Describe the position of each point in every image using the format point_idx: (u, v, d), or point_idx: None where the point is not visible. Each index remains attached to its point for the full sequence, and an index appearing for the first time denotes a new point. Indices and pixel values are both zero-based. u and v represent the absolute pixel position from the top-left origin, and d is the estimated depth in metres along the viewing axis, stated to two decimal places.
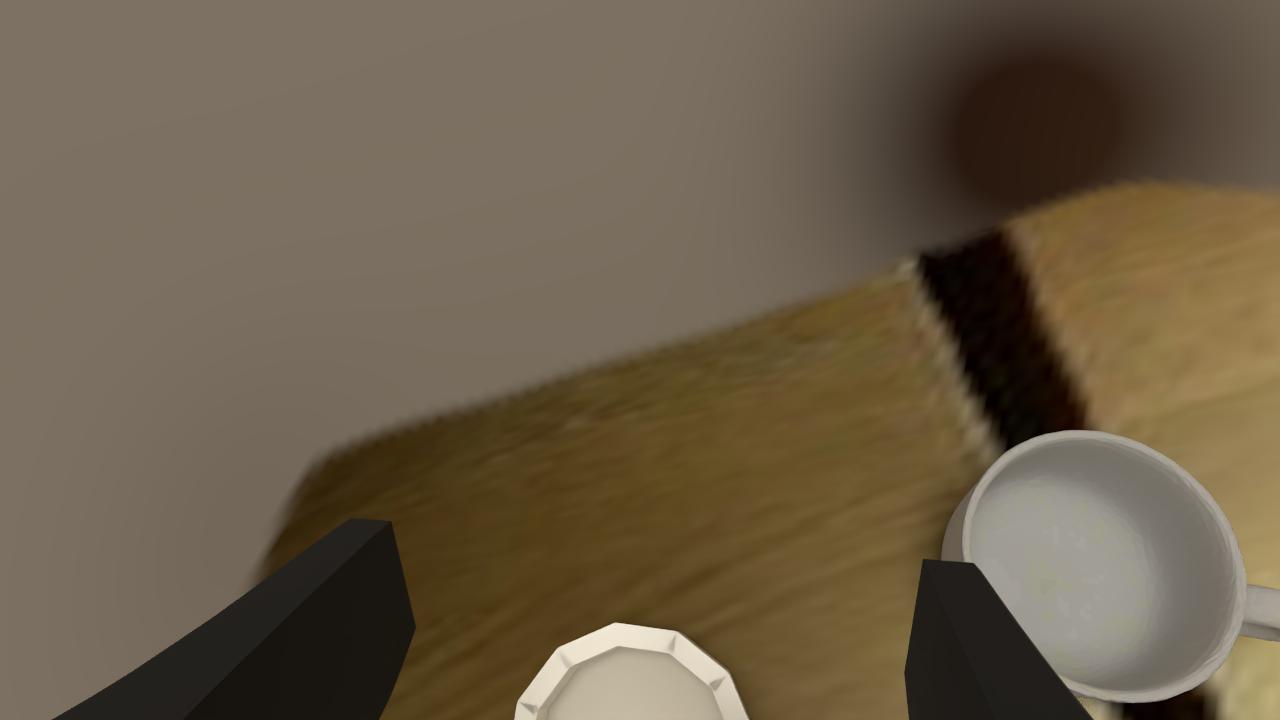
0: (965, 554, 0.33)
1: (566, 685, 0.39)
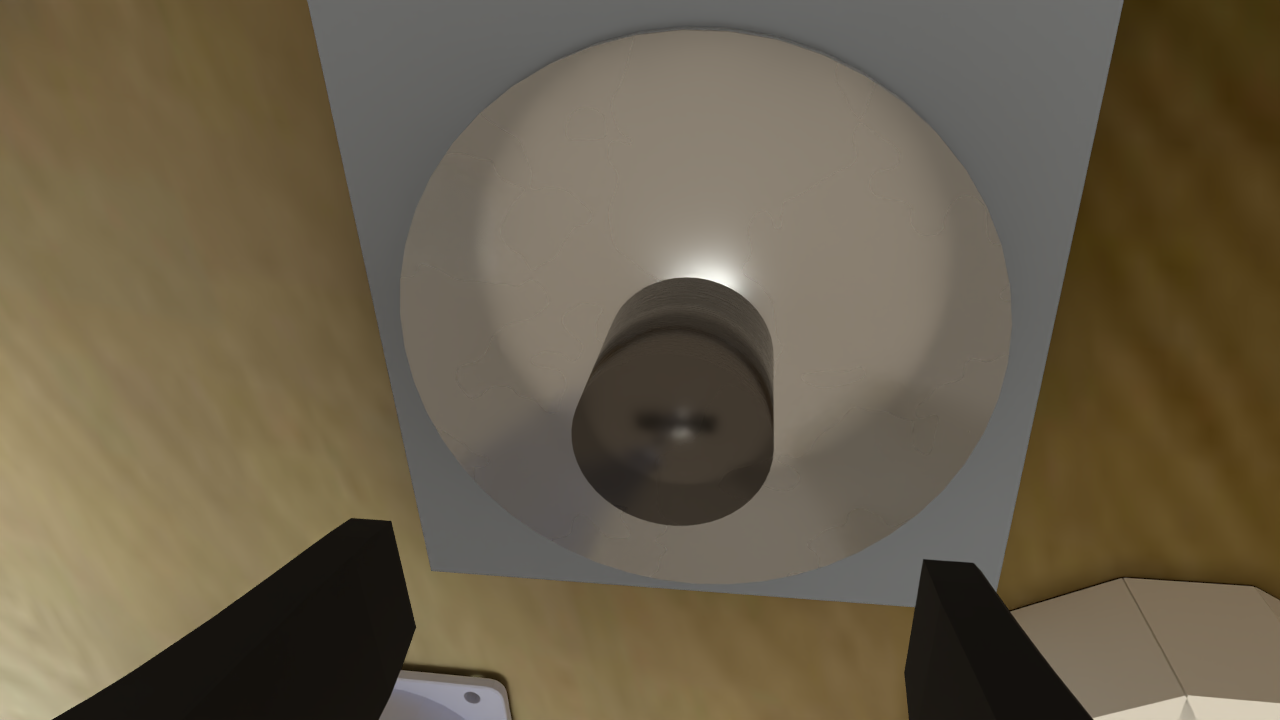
0: None
1: None
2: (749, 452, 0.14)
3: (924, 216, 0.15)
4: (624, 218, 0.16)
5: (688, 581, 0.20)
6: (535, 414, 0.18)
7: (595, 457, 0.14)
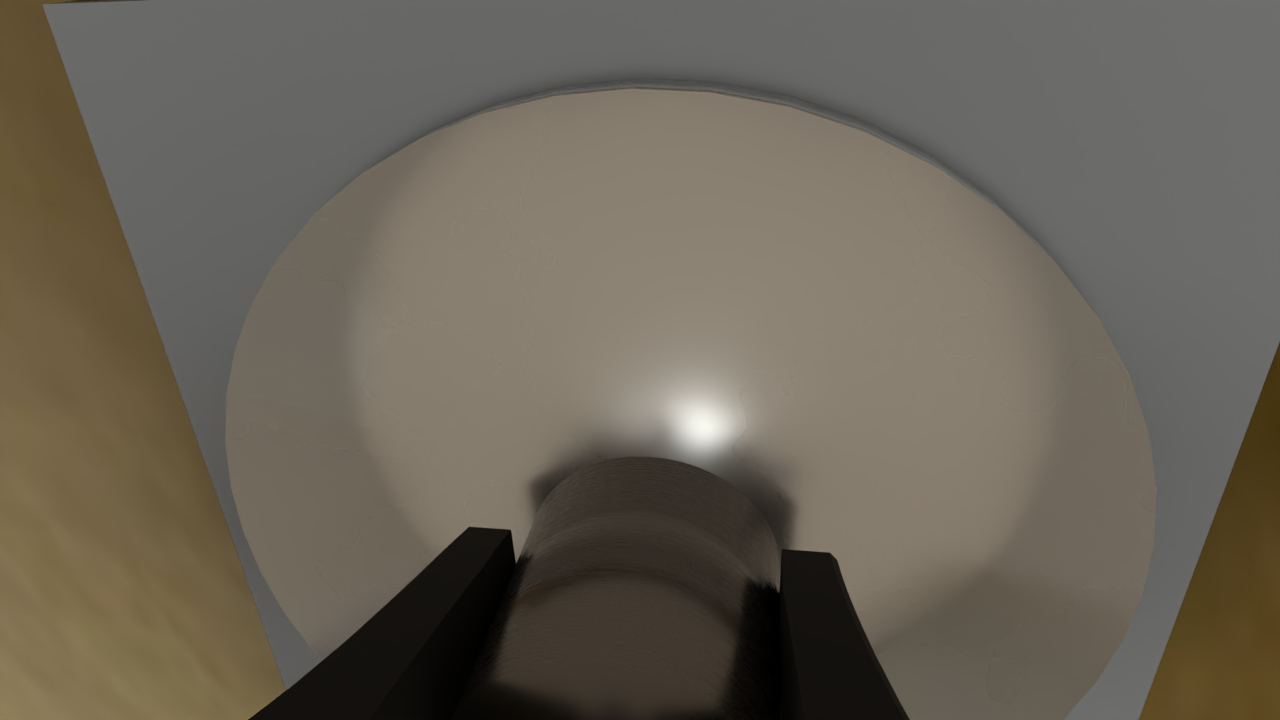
0: None
1: None
2: None
3: (1024, 385, 0.09)
4: (548, 371, 0.10)
5: None
6: None
7: None
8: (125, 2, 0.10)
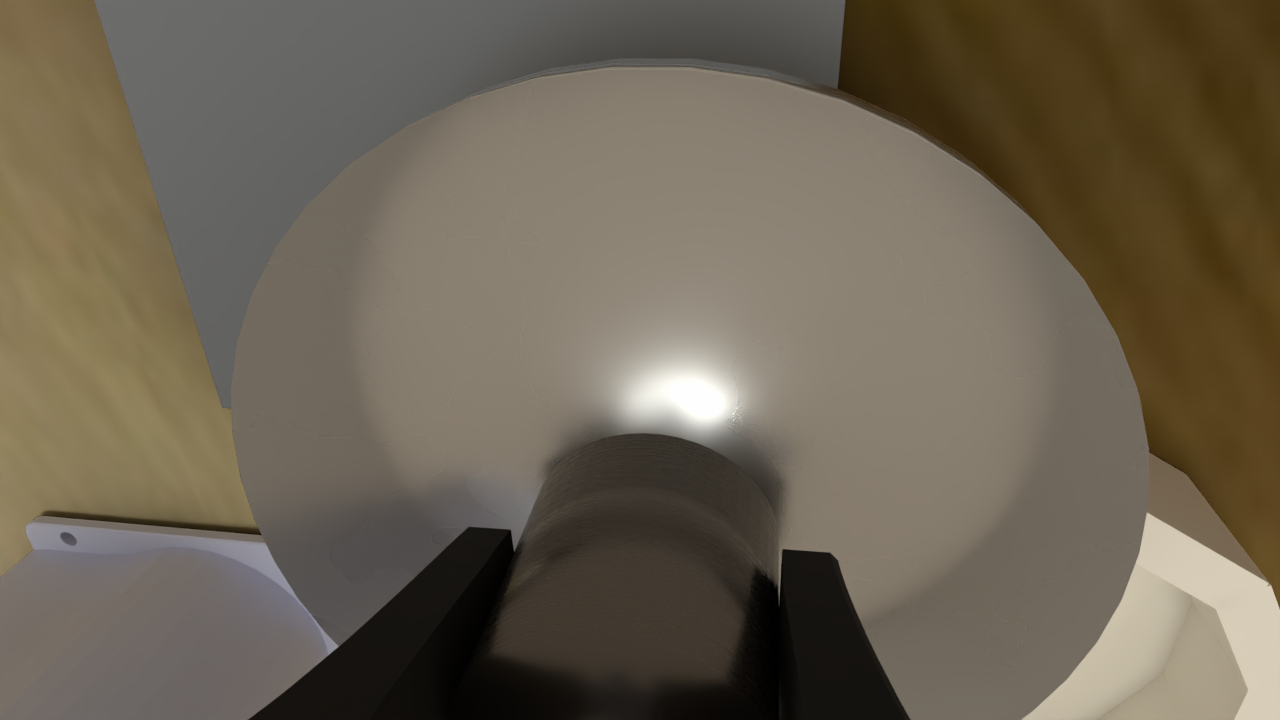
0: None
1: None
2: None
3: (1012, 349, 0.09)
4: (543, 352, 0.10)
5: None
6: None
7: None
8: None
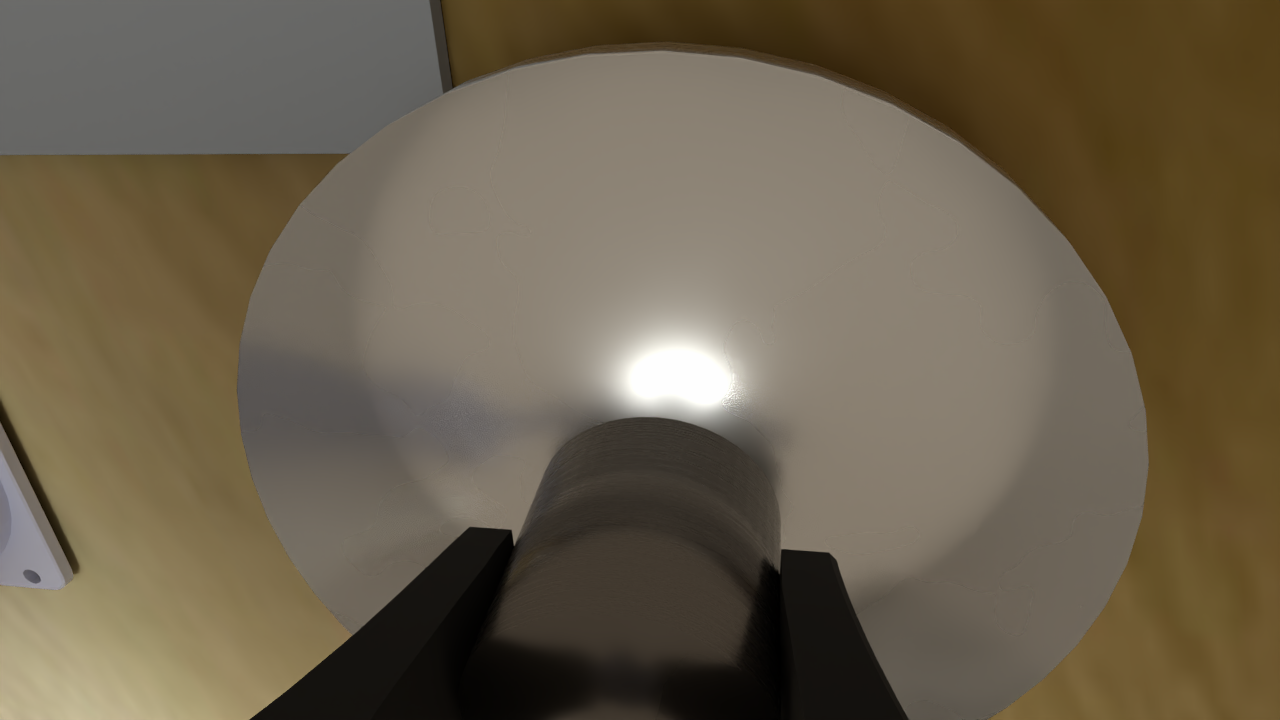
0: None
1: None
2: None
3: (1002, 316, 0.09)
4: (536, 341, 0.11)
5: None
6: None
7: None
8: None
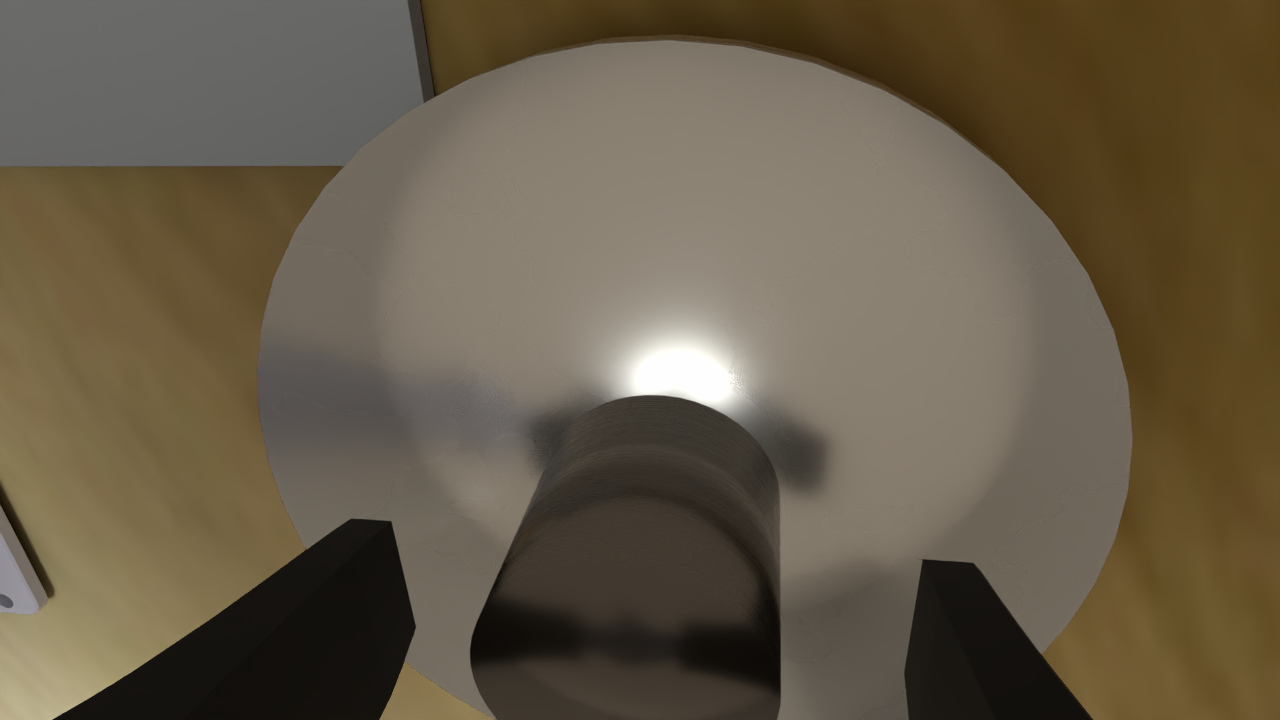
0: None
1: None
2: (743, 694, 0.09)
3: (990, 293, 0.10)
4: (547, 320, 0.11)
5: None
6: (464, 576, 0.14)
7: (512, 699, 0.09)
8: None
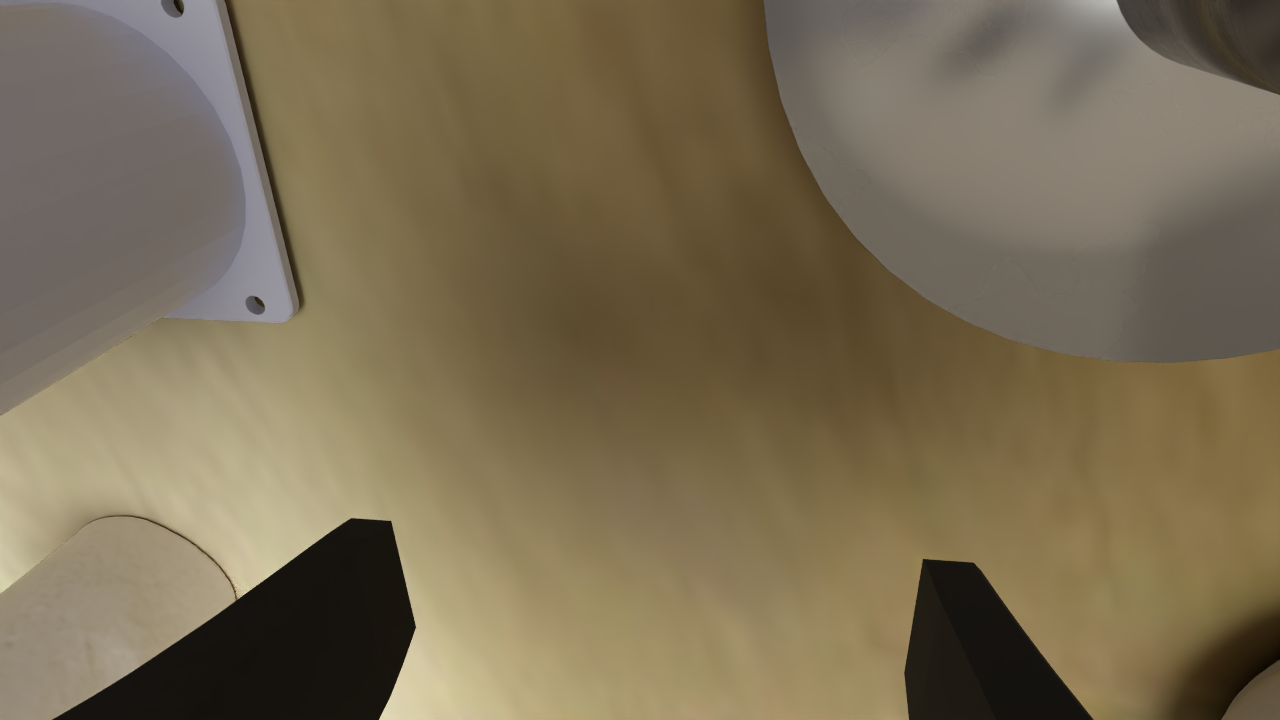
0: None
1: None
2: None
3: None
4: None
5: (1161, 359, 0.13)
6: (962, 82, 0.12)
7: None
8: None
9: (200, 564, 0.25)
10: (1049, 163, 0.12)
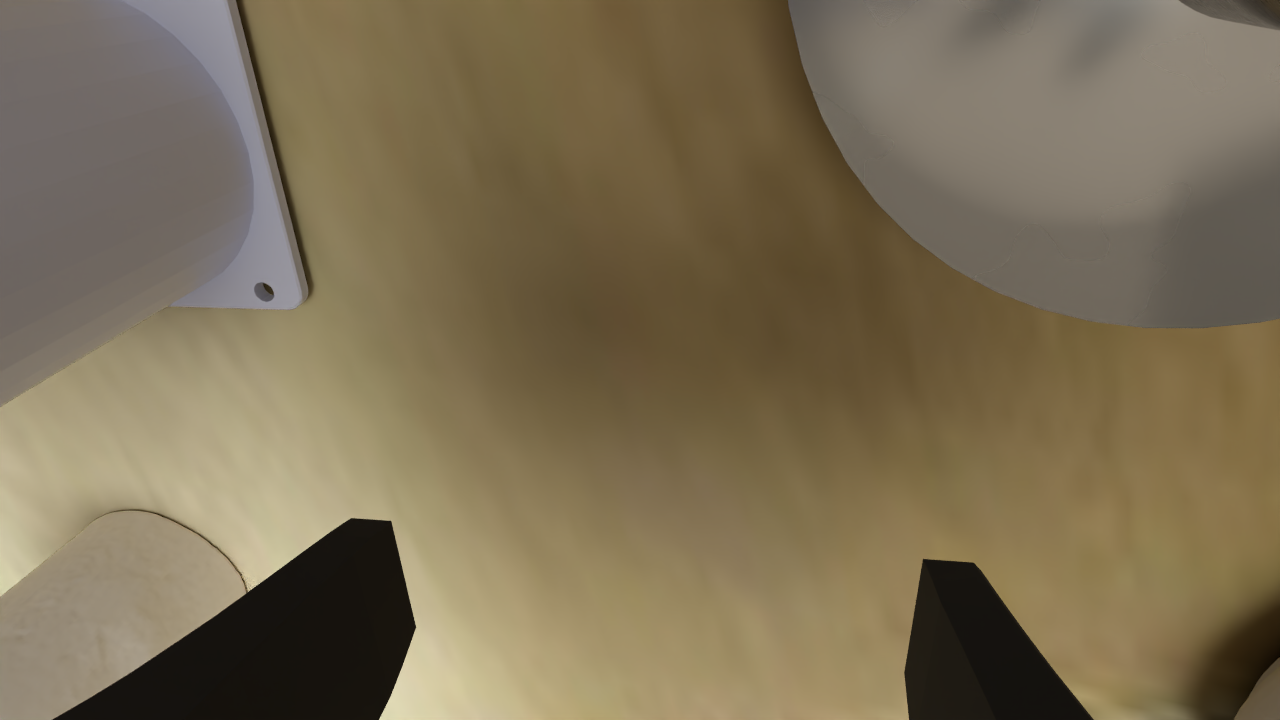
0: None
1: None
2: None
3: None
4: None
5: (1191, 325, 0.13)
6: (988, 41, 0.12)
7: None
8: None
9: (210, 557, 0.25)
10: (1077, 123, 0.12)
